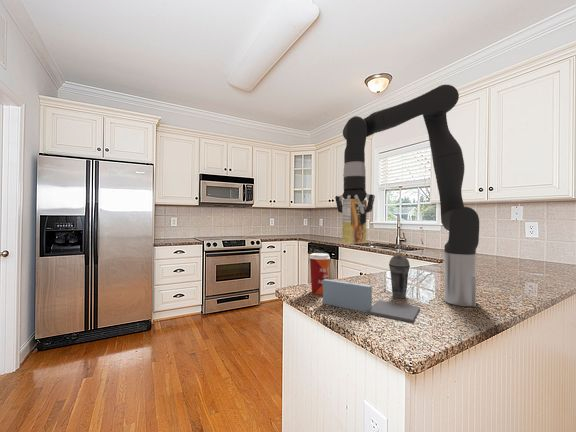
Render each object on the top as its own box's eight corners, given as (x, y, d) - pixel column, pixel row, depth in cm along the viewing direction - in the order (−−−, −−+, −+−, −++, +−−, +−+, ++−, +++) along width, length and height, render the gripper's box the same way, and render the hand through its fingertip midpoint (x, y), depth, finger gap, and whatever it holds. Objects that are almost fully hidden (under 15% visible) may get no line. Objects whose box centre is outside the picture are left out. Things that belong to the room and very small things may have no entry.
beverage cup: (388, 297, 100) (388, 243, 100) (389, 292, 106) (389, 241, 106) (410, 300, 97) (410, 244, 97) (409, 294, 104) (409, 242, 104)
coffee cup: (324, 296, 101) (324, 256, 101) (305, 293, 105) (305, 254, 105) (333, 291, 108) (333, 253, 108) (314, 288, 112) (315, 252, 112)
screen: (371, 310, 86) (371, 285, 86) (369, 312, 84) (369, 286, 84) (325, 302, 95) (325, 279, 95) (322, 303, 93) (322, 280, 93)
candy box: (357, 241, 100) (357, 199, 100) (367, 242, 97) (367, 199, 97) (341, 243, 94) (341, 198, 94) (351, 244, 91) (351, 198, 91)
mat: (419, 309, 87) (419, 307, 87) (413, 322, 76) (413, 319, 76) (378, 302, 94) (378, 300, 94) (367, 313, 84) (367, 310, 84)
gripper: (378, 175, 95) (378, 224, 95) (339, 179, 103) (339, 224, 103) (371, 173, 89) (371, 225, 89) (331, 176, 96) (331, 224, 96)
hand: (354, 224), depth 96 cm, fingers closed on candy box, 5 cm apart
